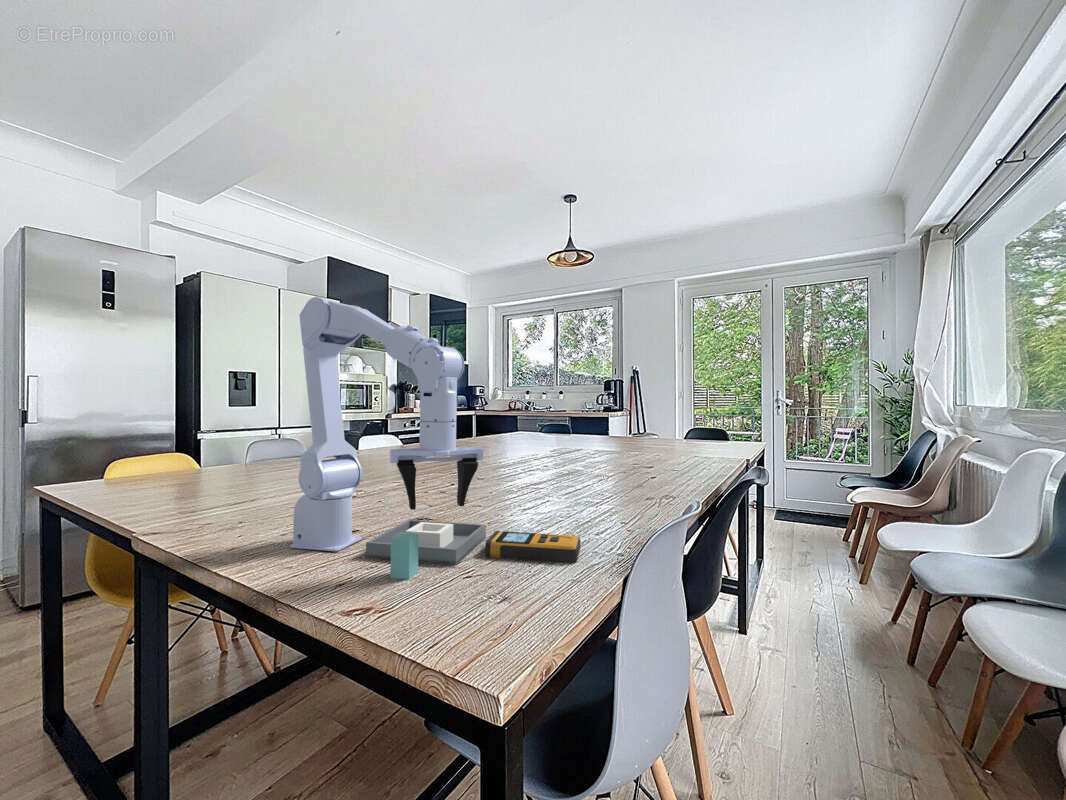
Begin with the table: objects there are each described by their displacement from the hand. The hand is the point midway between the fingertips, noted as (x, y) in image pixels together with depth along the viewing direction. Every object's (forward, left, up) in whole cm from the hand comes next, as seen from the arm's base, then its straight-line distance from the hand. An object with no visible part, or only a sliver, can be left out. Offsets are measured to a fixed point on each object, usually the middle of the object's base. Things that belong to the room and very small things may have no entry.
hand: (437, 506), depth 78 cm
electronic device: (+14, +10, -10) cm, 20 cm away
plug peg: (-3, -5, -10) cm, 11 cm away
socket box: (-5, +9, -10) cm, 14 cm away
